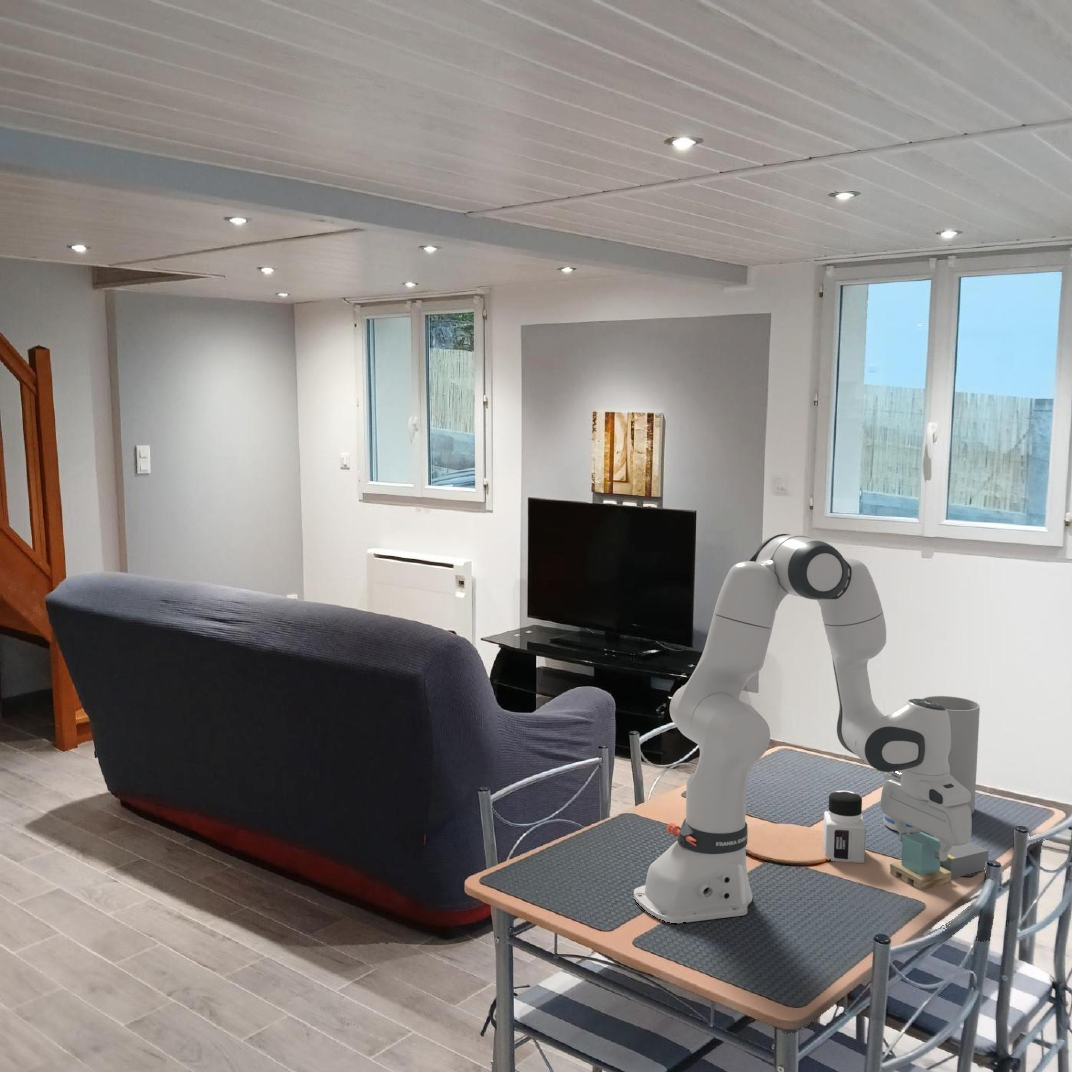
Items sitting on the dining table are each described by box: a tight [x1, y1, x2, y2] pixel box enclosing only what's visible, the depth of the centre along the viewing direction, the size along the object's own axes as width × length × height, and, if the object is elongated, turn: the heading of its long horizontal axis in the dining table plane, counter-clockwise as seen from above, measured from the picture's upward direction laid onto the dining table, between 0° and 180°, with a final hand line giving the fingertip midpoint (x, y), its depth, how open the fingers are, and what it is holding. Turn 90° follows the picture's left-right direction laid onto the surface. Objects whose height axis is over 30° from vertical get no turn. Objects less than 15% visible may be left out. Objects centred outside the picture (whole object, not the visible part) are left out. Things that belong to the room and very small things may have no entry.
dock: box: [932, 836, 989, 880], centre depth 214 cm, size 10×10×4 cm
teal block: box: [901, 832, 941, 875], centre depth 207 cm, size 5×5×6 cm
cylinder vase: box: [922, 695, 981, 815], centre depth 243 cm, size 12×12×25 cm
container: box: [822, 790, 867, 864], centre depth 218 cm, size 8×8×13 cm
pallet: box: [889, 860, 952, 890], centre depth 208 cm, size 8×8×2 cm
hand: (922, 850), depth 207 cm, fingers open, 8 cm apart
